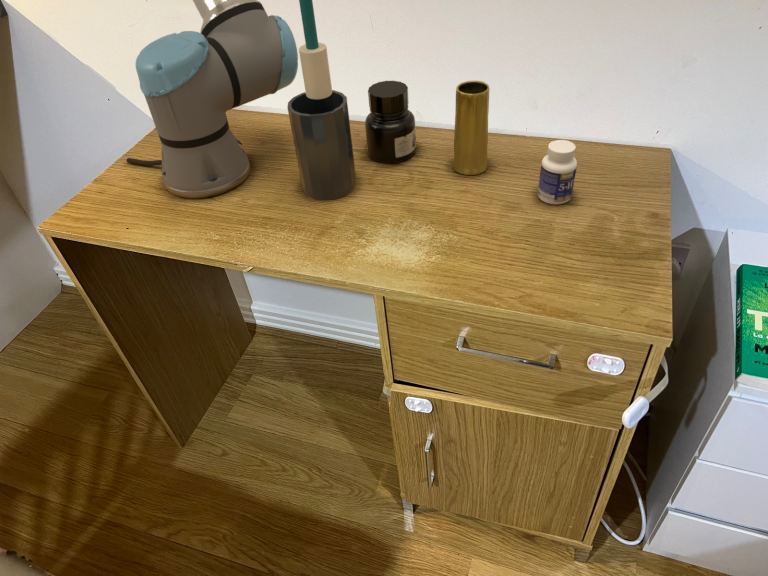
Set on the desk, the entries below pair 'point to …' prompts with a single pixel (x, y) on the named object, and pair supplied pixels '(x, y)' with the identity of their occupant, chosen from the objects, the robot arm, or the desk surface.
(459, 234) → the desk surface
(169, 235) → the desk surface
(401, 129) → the ink bottle
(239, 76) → the robot arm
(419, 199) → the desk surface
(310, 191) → the grey pvc pipe
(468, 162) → the vase
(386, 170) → the desk surface
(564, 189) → the pill bottle
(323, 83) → the brush
